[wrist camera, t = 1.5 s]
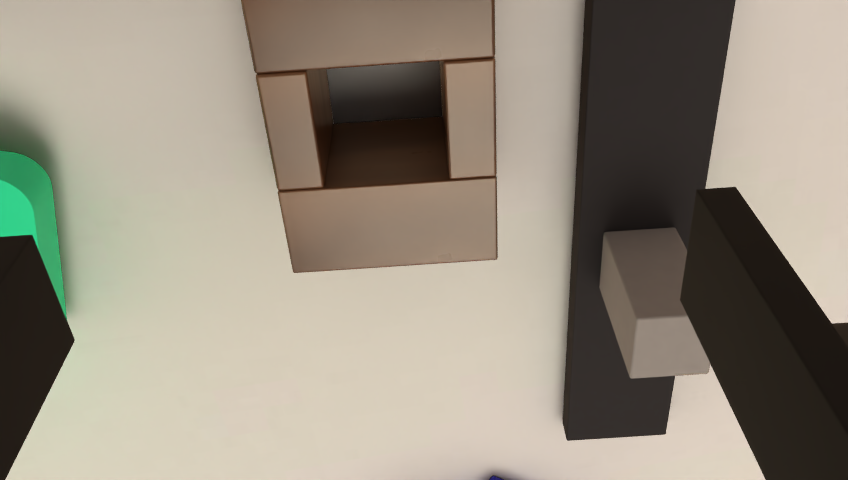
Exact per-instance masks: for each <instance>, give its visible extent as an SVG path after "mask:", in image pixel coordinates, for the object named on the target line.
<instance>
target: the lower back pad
mask: <svg viewBox="0 0 848 480" xmlns="http://www.w3.org/2000/svg"><path fill="white" fill-rule="evenodd" d="M734 6H735V0H586V1H585V20H584V38H583V57H582V75H581V94H580V113H579V131H578V150H577V168H576V187H575V206H574V224H573V243H572V261H571V280H570V298H569V317H568V336H567V354H566V373H565V391H564V410H563V426H564V430H565V434H566V439H567V440H568V441H569V440H585V439H600V438H616V437H632V436H648V435H663V434H666V428H667V422H668V416H669V410H670V403H671V397H672V391H673V385H674V379H675V376H678V375H694V374H707V373H708V372H709V367H710V362H709V360H708V358H707V356H706V354H705V351H704V349H703V347H702V345H701V343H700V341H699V339H698V337H697V335H696V333H695V330H694V328H693V326H692V324H691V322H690V320H689V318H688V316H687V314H686V312H685V310H684V307H683V305H682V303H681V301H680V295H681V289H682V282H683V276H684V269H685V262H686V256H687V249H688V242H689V236H690V229H691V223H692V216H693V209H694V203H695V196H696V190H698V189H705V186H706V180H707V174H708V168H709V161H710V155H711V149H712V143H713V137H714V130H715V124H716V118H717V112H718V106H719V99H720V93H721V87H722V81H723V75H724V68H725V62H726V56H727V50H728V44H729V37H730V31H731V25H732V19H733V13H734Z"/></svg>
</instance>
